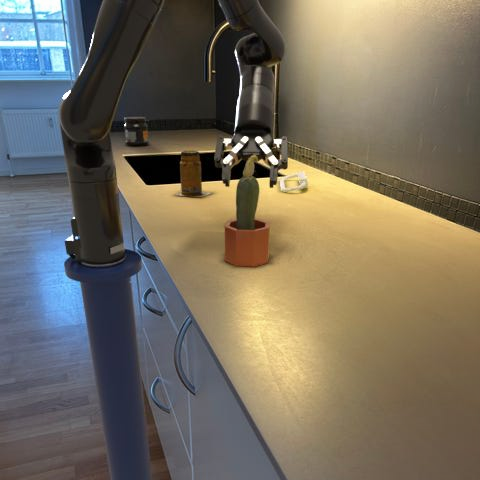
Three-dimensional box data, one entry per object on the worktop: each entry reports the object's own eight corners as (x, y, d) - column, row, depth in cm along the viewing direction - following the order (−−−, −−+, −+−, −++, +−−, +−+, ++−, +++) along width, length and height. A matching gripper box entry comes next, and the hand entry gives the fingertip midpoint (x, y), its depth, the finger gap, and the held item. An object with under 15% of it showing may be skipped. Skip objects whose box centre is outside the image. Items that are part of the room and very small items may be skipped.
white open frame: (281, 184, 169) (278, 173, 168) (305, 178, 168) (303, 166, 166) (282, 198, 152) (279, 186, 150) (309, 192, 150) (307, 179, 149)
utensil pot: (223, 265, 98) (222, 230, 95) (229, 251, 106) (228, 217, 102) (267, 267, 97) (268, 231, 94) (269, 252, 105) (270, 219, 102)
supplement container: (152, 144, 241) (150, 116, 236) (142, 147, 232) (140, 119, 227) (132, 143, 244) (130, 116, 239) (121, 146, 235) (119, 118, 230)
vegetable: (233, 261, 100) (232, 155, 91) (239, 254, 104) (239, 152, 95) (255, 263, 99) (256, 156, 90) (260, 256, 103) (262, 153, 94)
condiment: (187, 190, 155) (185, 149, 150) (212, 193, 152) (211, 151, 146) (175, 195, 149) (172, 152, 144) (200, 198, 146) (199, 154, 140)
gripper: (217, 101, 100) (209, 172, 95) (290, 102, 98) (286, 174, 93) (221, 127, 107) (214, 194, 102) (290, 128, 105) (286, 196, 101)
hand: (249, 185), depth 98 cm, fingers open, 8 cm apart
